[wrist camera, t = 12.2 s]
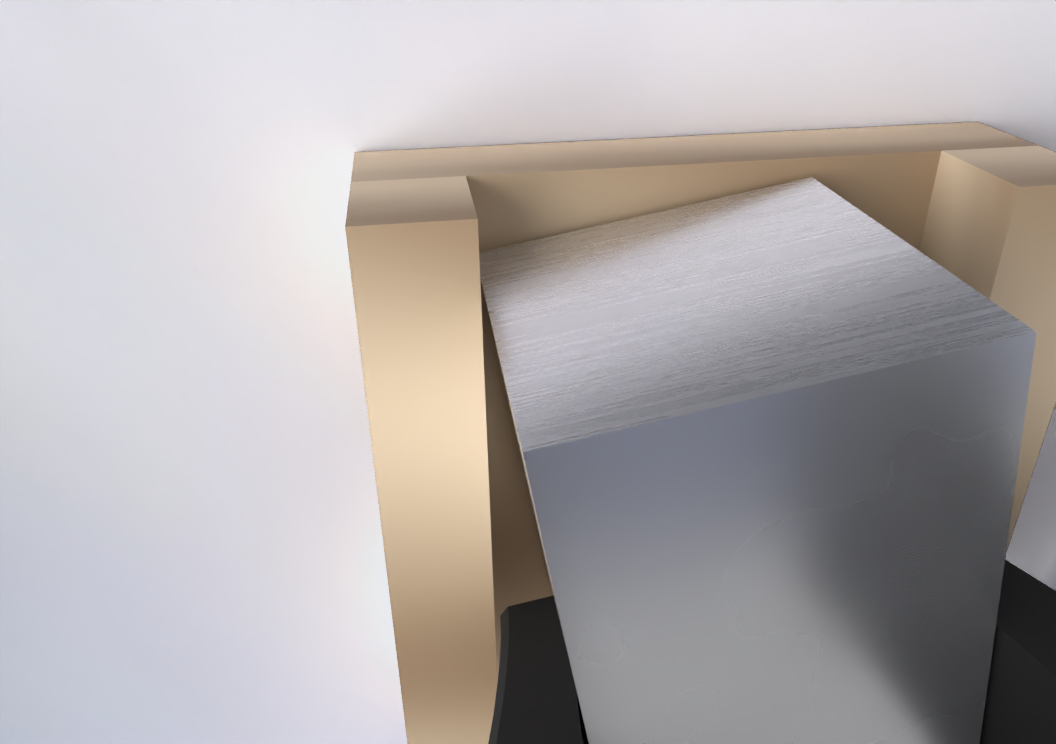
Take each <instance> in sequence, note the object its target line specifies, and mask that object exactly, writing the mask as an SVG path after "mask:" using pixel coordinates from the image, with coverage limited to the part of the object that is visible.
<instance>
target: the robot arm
mask: <svg viewBox="0 0 1056 744" xmlns="http://www.w3.org/2000/svg"><path fill="white" fill-rule="evenodd" d="M500 623H501V644H500V663H499V674H498V683H497V691H496V699H495V706H494V714H493V720H492V726H491V731H490V737H489V742H488V744H588V740H587V735H586V731H585V726H584V722H583V718H582V713H581V709H580V704H579V700H578V696H577V691H576V687H575V683H574V679H573V674H572V670H571V666H570V662H569V658H568V653H567V649H566V645H565V641H564V637H563V632H562V628H561V624H560V620H559V616H558V612H557V607H556V603H555V599H554V595H553V596H549V597H545V598H541V599H537V600H532V601H528V602H524V603H520V604H516V605H512V606H508V607H507V608H506V609H505V611H504V612H503V613H502V614H501V615H500ZM980 744H1056V591H1055V590H1053V589H1052V588H1050V587H1048V586H1047V585H1045V584H1043V583H1042V582H1040V581H1039V580H1037V579H1035V578H1034V577H1032V576H1030V575H1029V574H1027V573H1026V572H1024V571H1022V570H1021V569H1019V568H1018V567H1016V566H1014V565H1013V564H1011V563H1010V562H1008V561H1006V560H1005V564H1004V571H1003V578H1002V585H1001V593H1000V600H999V607H998V614H997V622H996V629H995V636H994V643H993V650H992V658H991V665H990V672H989V679H988V687H987V694H986V701H985V708H984V715H983V723H982V730H981V737H980Z"/></svg>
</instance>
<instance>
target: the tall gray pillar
mask: <svg viewBox="0 0 1056 744" xmlns="http://www.w3.org/2000/svg"><path fill="white" fill-rule="evenodd" d="M479 260H480V279H481V284H482V288H483V292H484V297H485V301H486V305H487V310H488V314H489V319H490V323H491V327H492V332H493V336H494V340H495V345H496V349H497V353H498V358H499V362H500V367H501V371H502V375H503V380H504V384H505V388H506V393H507V397H508V401H509V406H510V410H511V415H512V419H513V423H514V428H515V432H516V436H517V441H518V445H519V449H520V454H521V458H522V463H523V467H524V471H525V476H526V480H527V484H528V489H529V493H530V497H531V502H532V506H533V511H534V515H535V519H536V524H537V528H538V532H539V537H540V541H541V546H542V550H543V554H544V559H545V563H546V567H547V572H548V576H549V580H550V585H551V589H552V594H553V595H554V599H555V603H556V607H557V612H558V616H559V620H560V624H561V628H562V632H563V637H564V641H565V645H566V649H567V653H568V658H569V662H570V666H571V670H572V674H573V679H574V683H575V687H576V691H577V696H578V700H579V704H580V709H581V713H582V718H583V722H584V726H585V731H586V735H587V740H588V744H980V737H981V730H982V723H983V715H984V708H985V701H986V694H987V687H988V679H989V672H990V665H991V658H992V650H993V643H994V636H995V629H996V622H997V614H998V607H999V600H1000V593H1001V585H1002V578H1003V571H1004V564H1005V557H1006V549H1007V542H1008V535H1009V528H1010V521H1011V513H1012V506H1013V499H1014V492H1015V484H1016V477H1017V470H1018V463H1019V456H1020V448H1021V441H1022V434H1023V427H1024V419H1025V412H1026V405H1027V398H1028V391H1029V383H1030V376H1031V369H1032V362H1033V354H1034V347H1035V340H1036V333H1037V332H1036V331H1034V330H1033V329H1032V328H1030V327H1029V326H1027V325H1026V324H1024V323H1023V322H1021V321H1020V320H1019V319H1017V318H1016V317H1014V316H1013V315H1011V314H1010V313H1008V312H1007V311H1005V310H1004V309H1003V308H1001V307H1000V306H998V305H997V304H995V303H994V302H992V301H991V300H990V299H988V298H987V297H985V296H984V295H982V294H981V293H979V292H978V291H976V290H975V289H974V288H972V287H971V286H969V285H968V284H966V283H965V282H963V281H962V280H961V279H959V278H958V277H956V276H955V275H953V274H952V273H950V272H949V271H947V270H946V269H945V268H943V267H942V266H940V265H939V264H937V263H936V262H934V261H933V260H932V259H930V258H929V257H927V256H926V255H924V254H923V253H921V252H920V251H919V250H917V249H916V248H914V247H913V246H911V245H910V244H908V243H907V242H905V241H904V240H903V239H901V238H900V237H898V236H897V235H895V234H894V233H892V232H891V231H890V230H888V229H887V228H885V227H884V226H882V225H881V224H879V223H878V222H876V221H875V220H874V219H872V218H871V217H869V216H868V215H866V214H865V213H863V212H862V211H861V210H859V209H858V208H856V207H855V206H853V205H852V204H850V203H849V202H847V201H846V200H845V199H843V198H842V197H840V196H839V195H837V194H836V193H834V192H833V191H832V190H830V189H829V188H827V187H826V186H824V185H823V184H821V183H820V182H818V181H817V180H816V179H814V178H813V177H810V178H806V179H802V180H797V181H793V182H788V183H784V184H780V185H775V186H771V187H766V188H762V189H757V190H753V191H749V192H744V193H740V194H735V195H731V196H727V197H722V198H718V199H713V200H709V201H704V202H700V203H696V204H691V205H687V206H682V207H678V208H674V209H669V210H665V211H660V212H656V213H651V214H647V215H643V216H638V217H634V218H629V219H625V220H620V221H616V222H612V223H607V224H603V225H598V226H594V227H590V228H585V229H581V230H576V231H572V232H567V233H563V234H559V235H554V236H550V237H545V238H541V239H537V240H532V241H528V242H523V243H519V244H514V245H510V246H506V247H501V248H497V249H492V250H488V251H483V252H479Z"/></svg>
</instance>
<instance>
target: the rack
mask: <svg viewBox="0 0 1056 744" xmlns="http://www.w3.org/2000/svg"><path fill="white" fill-rule="evenodd" d="M810 177H813V178H814V179H816V180H817V181H818V182H820V183H821V184H823V185H824V186H826V187H827V188H829V189H830V190H832V191H833V192H834V193H836V194H837V195H839V196H840V197H842V198H843V199H845V200H846V201H847V202H849V203H850V204H852V205H853V206H855V207H856V208H858V209H859V210H861V211H862V212H863V213H865V214H866V215H868V216H869V217H871V218H872V219H874V220H875V221H876V222H878V223H879V224H881V225H882V226H884V227H885V228H887V229H888V230H890V231H891V232H892V233H894V234H895V235H897V236H898V237H900V238H901V239H903V240H904V241H905V242H907V243H908V244H910V245H911V246H913V247H914V248H916V249H917V250H919V251H920V252H921V253H923V254H924V255H926V256H927V257H929V258H930V259H932V260H933V261H934V262H936V263H937V264H939V265H940V266H942V267H943V268H945V269H946V270H947V271H949V272H950V273H952V274H953V275H955V276H956V277H958V278H959V279H961V280H962V281H963V282H965V283H966V284H968V285H969V286H971V287H972V288H974V289H975V290H976V291H978V292H979V293H981V294H982V295H984V296H985V297H987V298H988V299H990V300H991V301H992V302H994V303H995V304H997V305H998V306H1000V307H1001V308H1003V309H1004V310H1005V311H1007V312H1008V313H1010V314H1011V315H1013V316H1014V317H1016V318H1017V319H1019V320H1020V321H1021V322H1023V323H1024V324H1026V325H1027V326H1029V327H1030V328H1032V329H1033V330H1034V331H1036V332H1037V333H1036V340H1035V347H1034V354H1033V362H1032V369H1031V376H1030V383H1029V391H1028V398H1027V405H1026V412H1025V419H1024V427H1023V434H1022V441H1021V448H1020V456H1019V463H1018V470H1017V477H1016V484H1015V492H1014V499H1013V506H1012V513H1011V521H1010V528H1009V535H1008V542H1007V549H1008V546H1009V543H1010V540H1011V537H1012V534H1013V531H1014V528H1015V525H1016V522H1017V519H1018V516H1019V513H1020V510H1021V506H1022V503H1023V500H1024V497H1025V494H1026V491H1027V488H1028V485H1029V482H1030V479H1031V476H1032V473H1033V470H1034V467H1035V464H1036V461H1037V458H1038V455H1039V452H1040V449H1041V446H1042V443H1043V440H1044V437H1045V434H1046V431H1047V428H1048V425H1049V422H1050V419H1051V416H1052V413H1053V410H1054V407H1055V404H1056V152H1054V151H1052V150H1049V149H1046V148H1044V147H1041V146H1039V145H1036V144H1033V143H1031V142H1028V141H1026V140H1023V139H1021V138H1018V137H1015V136H1013V135H1010V134H1008V133H1005V132H1002V131H1000V130H997V129H995V128H992V127H990V126H987V125H984V124H982V123H979V122H962V123H941V124H921V125H900V126H880V127H859V128H839V129H818V130H798V131H778V132H757V133H737V134H716V135H696V136H675V137H655V138H634V139H614V140H594V141H573V142H553V143H532V144H512V145H491V146H471V147H451V148H430V149H410V150H389V151H369V152H355V154H354V162H353V170H352V178H351V186H350V194H349V202H348V210H347V218H346V226H345V227H346V236H347V244H348V252H349V261H350V269H351V277H352V286H353V294H354V302H355V311H356V319H357V327H358V335H359V344H360V352H361V360H362V369H363V377H364V385H365V394H366V402H367V410H368V419H369V427H370V435H371V443H372V452H373V460H374V468H375V477H376V485H377V493H378V502H379V510H380V518H381V527H382V535H383V543H384V551H385V560H386V568H387V576H388V585H389V593H390V601H391V610H392V618H393V626H394V635H395V643H396V651H397V660H398V668H399V676H400V684H401V693H402V701H403V709H404V718H405V726H406V734H407V743H408V744H488V742H489V737H490V731H491V726H492V720H493V714H494V706H495V699H496V691H497V683H498V674H499V663H500V644H501V623H500V615H501V614H502V613H503V612H504V611H505V609H506V608H507V607H508V606H512V605H516V604H520V603H524V602H528V601H532V600H537V599H541V598H545V597H549V596H553V594H552V589H551V585H550V580H549V576H548V572H547V567H546V563H545V559H544V554H543V550H542V546H541V541H540V537H539V532H538V528H537V524H536V519H535V515H534V511H533V506H532V502H531V497H530V493H529V489H528V484H527V480H526V476H525V471H524V467H523V463H522V458H521V454H520V449H519V445H518V441H517V436H516V432H515V428H514V423H513V419H512V415H511V410H510V406H509V401H508V397H507V393H506V388H505V384H504V380H503V375H502V371H501V367H500V362H499V358H498V353H497V349H496V345H495V340H494V336H493V332H492V327H491V323H490V319H489V314H488V310H487V305H486V301H485V297H484V292H483V288H482V284H481V279H480V260H479V252H483V251H488V250H492V249H497V248H501V247H506V246H510V245H514V244H519V243H523V242H528V241H532V240H537V239H541V238H545V237H550V236H554V235H559V234H563V233H567V232H572V231H576V230H581V229H585V228H590V227H594V226H598V225H603V224H607V223H612V222H616V221H620V220H625V219H629V218H634V217H638V216H643V215H647V214H651V213H656V212H660V211H665V210H669V209H674V208H678V207H682V206H687V205H691V204H696V203H700V202H704V201H709V200H713V199H718V198H722V197H727V196H731V195H735V194H740V193H744V192H749V191H753V190H757V189H762V188H766V187H771V186H775V185H780V184H784V183H788V182H793V181H797V180H802V179H806V178H810ZM1007 549H1006V552H1007Z"/></svg>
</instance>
